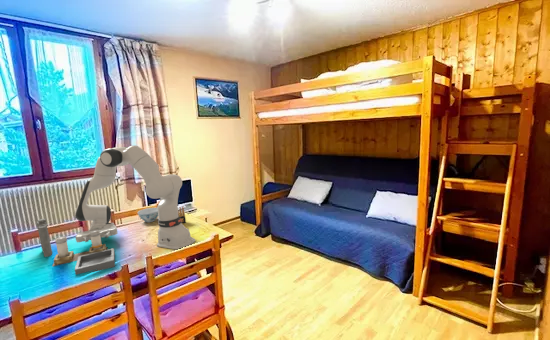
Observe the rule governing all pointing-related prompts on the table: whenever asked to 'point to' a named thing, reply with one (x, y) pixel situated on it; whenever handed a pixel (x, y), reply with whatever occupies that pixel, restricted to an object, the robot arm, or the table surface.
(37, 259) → the table surface
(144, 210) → the chinaware
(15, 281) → the table surface
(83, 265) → the tray
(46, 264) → the table surface
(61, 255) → the cylinder
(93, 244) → the cylinder
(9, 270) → the table surface
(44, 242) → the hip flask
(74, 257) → the fuse block
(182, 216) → the ammunition clip
